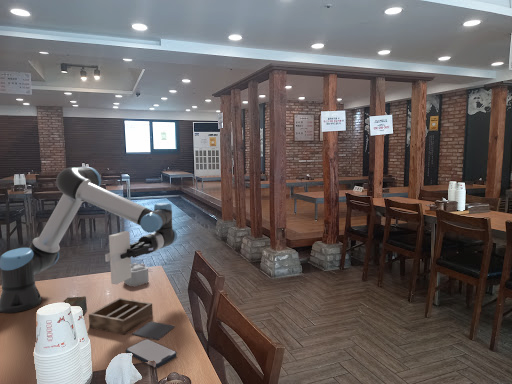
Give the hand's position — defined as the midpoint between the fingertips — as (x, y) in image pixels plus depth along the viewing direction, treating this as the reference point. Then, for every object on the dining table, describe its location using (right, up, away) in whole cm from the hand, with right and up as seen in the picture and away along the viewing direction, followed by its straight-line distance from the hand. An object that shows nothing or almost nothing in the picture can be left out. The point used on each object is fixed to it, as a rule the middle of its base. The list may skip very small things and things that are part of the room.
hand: (109, 258), depth 127 cm
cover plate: (+2, -9, +6) cm, 11 cm away
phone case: (+19, -28, -14) cm, 37 cm away
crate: (+2, -25, +8) cm, 27 cm away
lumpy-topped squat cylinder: (-8, -21, +51) cm, 56 cm away
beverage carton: (-19, -26, +8) cm, 33 cm away
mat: (+16, -26, +1) cm, 31 cm away
